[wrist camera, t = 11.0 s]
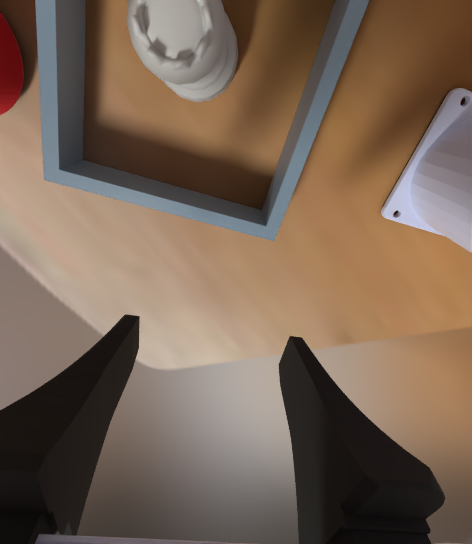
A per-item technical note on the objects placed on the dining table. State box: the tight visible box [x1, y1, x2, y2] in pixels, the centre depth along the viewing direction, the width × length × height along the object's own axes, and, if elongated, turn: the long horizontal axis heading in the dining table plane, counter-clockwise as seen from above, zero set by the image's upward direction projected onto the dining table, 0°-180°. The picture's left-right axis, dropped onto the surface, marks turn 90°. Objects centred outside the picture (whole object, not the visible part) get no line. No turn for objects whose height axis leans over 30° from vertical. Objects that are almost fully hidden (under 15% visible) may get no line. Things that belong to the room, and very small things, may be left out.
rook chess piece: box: [127, 0, 239, 102], centre depth 12 cm, size 4×4×8 cm
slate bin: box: [35, 0, 369, 241], centre depth 15 cm, size 14×14×3 cm
